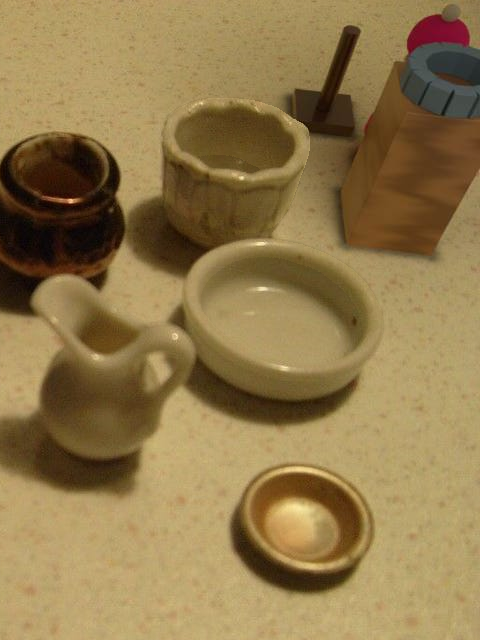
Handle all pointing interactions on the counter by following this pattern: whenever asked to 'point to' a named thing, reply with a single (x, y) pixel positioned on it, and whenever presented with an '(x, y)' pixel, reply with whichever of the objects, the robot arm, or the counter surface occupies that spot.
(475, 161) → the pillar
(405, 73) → the ring
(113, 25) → the counter surface
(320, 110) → the stand
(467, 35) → the pepper mill
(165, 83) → the counter surface
